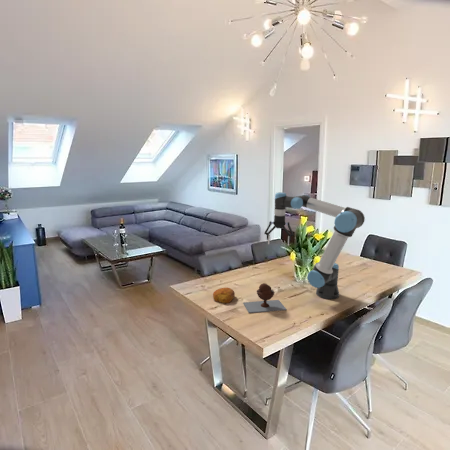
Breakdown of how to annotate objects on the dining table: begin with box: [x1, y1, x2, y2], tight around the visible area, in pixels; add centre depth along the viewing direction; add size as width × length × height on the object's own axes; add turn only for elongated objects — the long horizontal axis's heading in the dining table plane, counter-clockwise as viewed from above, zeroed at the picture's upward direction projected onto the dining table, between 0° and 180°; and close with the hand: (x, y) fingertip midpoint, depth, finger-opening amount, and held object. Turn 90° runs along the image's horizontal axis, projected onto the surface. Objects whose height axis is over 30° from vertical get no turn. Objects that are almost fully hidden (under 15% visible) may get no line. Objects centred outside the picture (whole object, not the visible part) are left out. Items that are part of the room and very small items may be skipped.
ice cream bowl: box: [256, 282, 275, 308], centre depth 210 cm, size 11×11×15 cm
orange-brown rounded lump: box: [212, 287, 236, 304], centre depth 222 cm, size 14×16×8 cm
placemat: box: [242, 299, 287, 314], centre depth 211 cm, size 24×14×1 cm, turn 101°
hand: (278, 244), depth 236 cm, fingers open, 13 cm apart
